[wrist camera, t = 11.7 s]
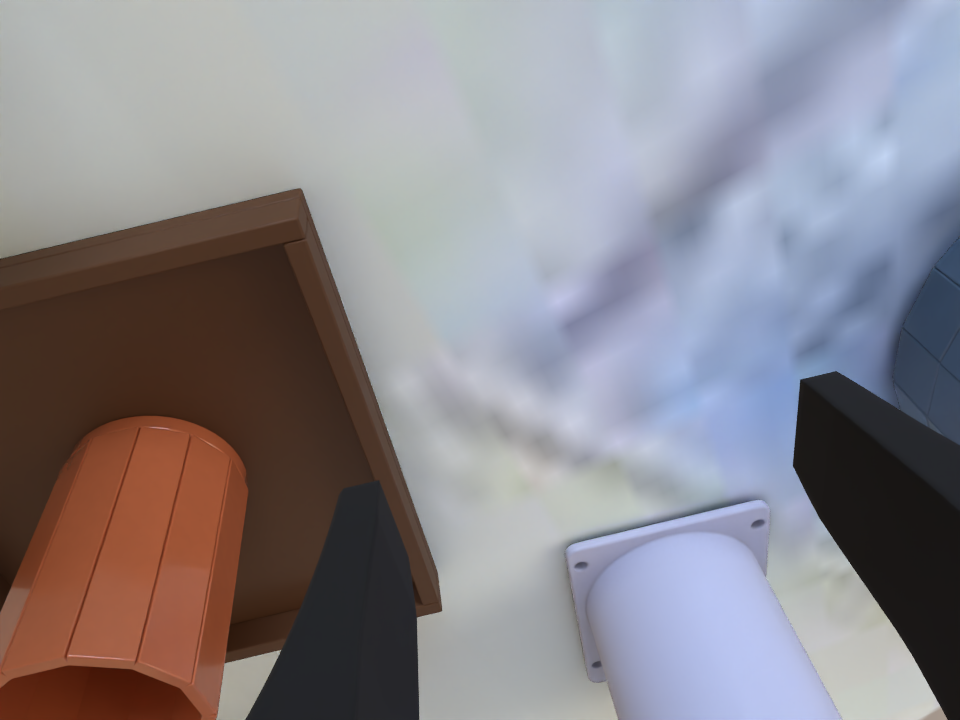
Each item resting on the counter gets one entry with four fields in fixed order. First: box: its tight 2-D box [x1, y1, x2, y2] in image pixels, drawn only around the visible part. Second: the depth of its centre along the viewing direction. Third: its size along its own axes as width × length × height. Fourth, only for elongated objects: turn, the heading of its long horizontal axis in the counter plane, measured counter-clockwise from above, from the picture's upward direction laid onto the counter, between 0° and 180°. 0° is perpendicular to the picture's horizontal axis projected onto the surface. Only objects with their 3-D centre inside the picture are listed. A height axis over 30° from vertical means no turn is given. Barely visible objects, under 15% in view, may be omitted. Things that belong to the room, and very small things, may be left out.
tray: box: [0, 189, 442, 663], centre depth 24 cm, size 16×14×2 cm
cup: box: [0, 415, 248, 720], centre depth 21 cm, size 5×5×8 cm
